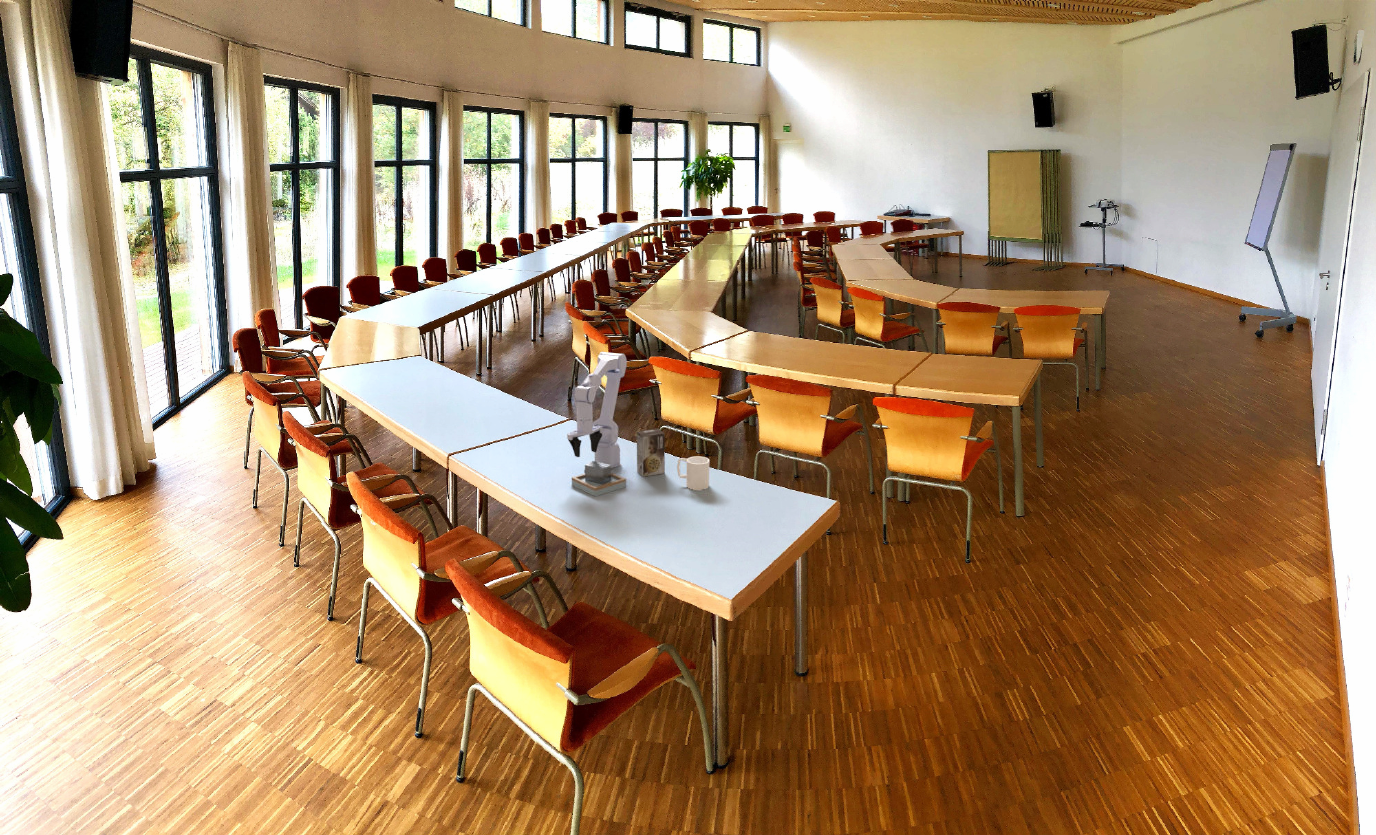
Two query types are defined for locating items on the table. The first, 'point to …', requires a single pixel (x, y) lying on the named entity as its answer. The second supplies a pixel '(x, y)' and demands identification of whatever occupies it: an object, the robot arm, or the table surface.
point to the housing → (597, 472)
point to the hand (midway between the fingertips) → (585, 454)
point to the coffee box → (650, 452)
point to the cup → (696, 472)
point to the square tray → (597, 488)
